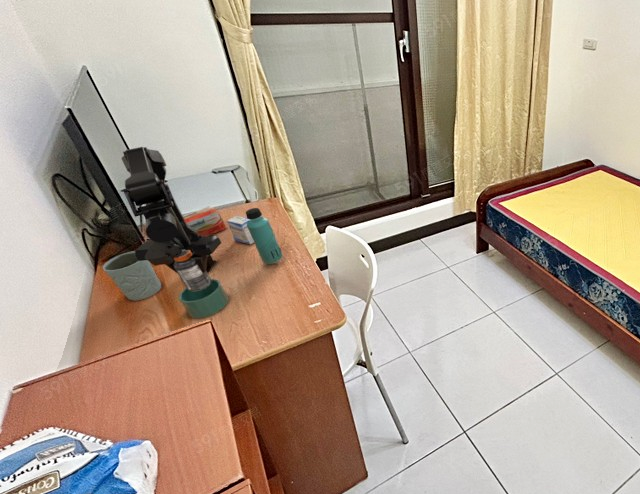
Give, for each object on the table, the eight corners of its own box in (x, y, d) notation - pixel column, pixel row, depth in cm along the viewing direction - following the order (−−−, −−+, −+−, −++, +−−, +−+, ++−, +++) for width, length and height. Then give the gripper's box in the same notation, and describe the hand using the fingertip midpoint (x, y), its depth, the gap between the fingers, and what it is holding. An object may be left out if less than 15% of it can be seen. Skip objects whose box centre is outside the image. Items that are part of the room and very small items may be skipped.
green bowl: (181, 319, 113) (171, 303, 109) (200, 296, 121) (191, 280, 118) (218, 316, 113) (209, 300, 110) (234, 293, 122) (226, 277, 118)
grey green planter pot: (132, 306, 118) (109, 274, 112) (118, 295, 123) (96, 264, 116) (170, 287, 125) (151, 256, 119) (156, 277, 130) (137, 246, 124)
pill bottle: (194, 279, 116) (176, 247, 110) (216, 277, 116) (199, 245, 110) (183, 293, 111) (163, 260, 105) (205, 291, 111) (186, 258, 105)
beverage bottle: (276, 268, 131) (254, 216, 121) (259, 266, 133) (235, 214, 122) (289, 257, 137) (268, 205, 126) (272, 255, 138) (250, 204, 127)
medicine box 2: (235, 241, 147) (225, 221, 142) (245, 235, 150) (236, 215, 146) (250, 245, 144) (241, 224, 140) (260, 238, 148) (252, 218, 143)
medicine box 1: (218, 222, 159) (209, 205, 155) (227, 228, 155) (218, 210, 150) (175, 240, 149) (164, 221, 145) (182, 247, 145) (172, 228, 140)
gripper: (104, 245, 95) (138, 295, 104) (186, 239, 97) (213, 288, 105) (135, 221, 105) (164, 269, 113) (209, 216, 106) (232, 263, 114)
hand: (192, 272), depth 111 cm, fingers closed on pill bottle, 6 cm apart
